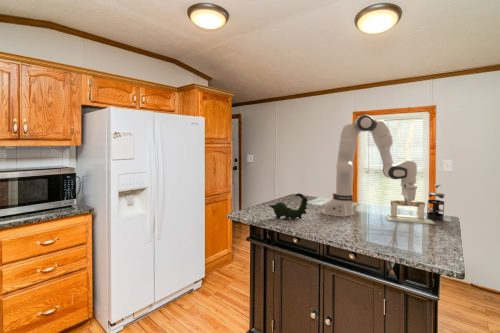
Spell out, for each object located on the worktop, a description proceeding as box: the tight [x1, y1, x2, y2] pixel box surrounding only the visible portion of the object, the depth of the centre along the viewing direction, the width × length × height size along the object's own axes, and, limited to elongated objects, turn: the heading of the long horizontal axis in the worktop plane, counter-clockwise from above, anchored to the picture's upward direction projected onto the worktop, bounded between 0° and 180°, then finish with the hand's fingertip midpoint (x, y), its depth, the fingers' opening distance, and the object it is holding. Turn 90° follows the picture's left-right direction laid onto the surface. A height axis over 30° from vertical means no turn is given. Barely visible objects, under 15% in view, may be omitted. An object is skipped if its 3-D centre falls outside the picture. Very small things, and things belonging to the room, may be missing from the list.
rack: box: [388, 202, 427, 219], centre depth 182 cm, size 22×5×10 cm, turn 72°
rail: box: [390, 199, 426, 208], centre depth 181 cm, size 20×3×3 cm, turn 72°
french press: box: [426, 184, 446, 222], centre depth 177 cm, size 12×9×23 cm
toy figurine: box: [269, 192, 308, 220], centre depth 180 cm, size 9×19×25 cm
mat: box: [386, 216, 436, 225], centre depth 174 cm, size 26×8×1 cm, turn 72°
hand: (407, 204), depth 181 cm, fingers open, 5 cm apart
